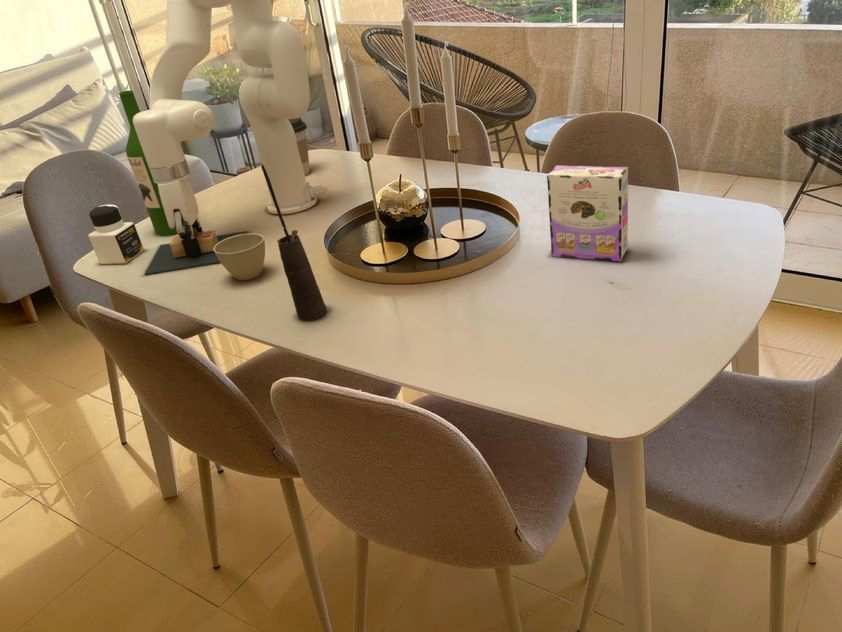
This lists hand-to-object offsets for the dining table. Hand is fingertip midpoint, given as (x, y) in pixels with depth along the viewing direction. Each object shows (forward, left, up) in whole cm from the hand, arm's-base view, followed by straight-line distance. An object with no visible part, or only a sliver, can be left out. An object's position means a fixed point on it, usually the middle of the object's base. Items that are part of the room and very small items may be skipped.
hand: (196, 249), depth 155 cm
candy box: (-80, +34, -1) cm, 87 cm away
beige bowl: (-13, +17, -1) cm, 21 cm away
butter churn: (-27, +38, -1) cm, 47 cm away
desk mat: (0, 0, -1) cm, 1 cm away
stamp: (0, 0, -1) cm, 1 cm away
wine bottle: (+9, -19, -1) cm, 21 cm away
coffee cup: (-20, -49, -1) cm, 53 cm away
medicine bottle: (+18, -5, -1) cm, 19 cm away
